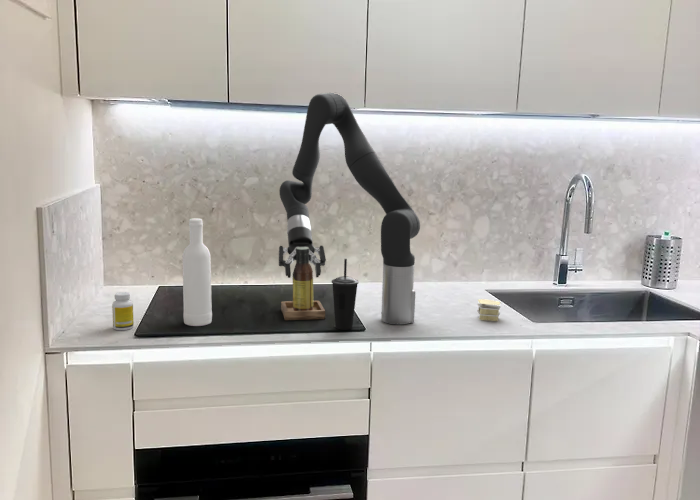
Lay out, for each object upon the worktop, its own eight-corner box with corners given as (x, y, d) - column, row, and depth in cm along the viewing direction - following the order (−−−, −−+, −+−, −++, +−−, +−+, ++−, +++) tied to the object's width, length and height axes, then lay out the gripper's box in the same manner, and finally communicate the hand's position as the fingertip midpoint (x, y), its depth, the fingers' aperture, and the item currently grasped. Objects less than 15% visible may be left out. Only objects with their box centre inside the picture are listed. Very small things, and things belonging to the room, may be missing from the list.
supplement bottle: (137, 328, 174) (136, 293, 172) (119, 332, 170) (117, 297, 168) (127, 323, 177) (126, 290, 176) (109, 327, 173) (107, 293, 172)
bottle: (196, 328, 175) (194, 221, 170) (177, 322, 180) (175, 219, 174) (217, 321, 182) (216, 219, 176) (199, 316, 186) (197, 216, 181)
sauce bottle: (302, 307, 196) (303, 244, 192) (317, 311, 192) (318, 247, 188) (287, 311, 191) (288, 247, 187) (302, 315, 187) (303, 250, 183)
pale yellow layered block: (505, 317, 195) (506, 300, 194) (502, 325, 186) (503, 307, 185) (473, 313, 198) (474, 296, 197) (469, 321, 189) (470, 303, 188)
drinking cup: (362, 329, 178) (364, 260, 174) (338, 332, 174) (340, 262, 170) (348, 322, 184) (350, 255, 181) (325, 325, 180) (327, 257, 177)
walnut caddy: (319, 308, 198) (319, 300, 198) (325, 318, 187) (325, 310, 186) (281, 309, 196) (281, 301, 196) (284, 320, 185) (285, 312, 184)
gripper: (277, 225, 193) (280, 269, 184) (323, 225, 195) (328, 269, 186) (276, 239, 199) (279, 283, 190) (320, 239, 202) (325, 282, 192)
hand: (303, 276), depth 188 cm, fingers open, 8 cm apart
